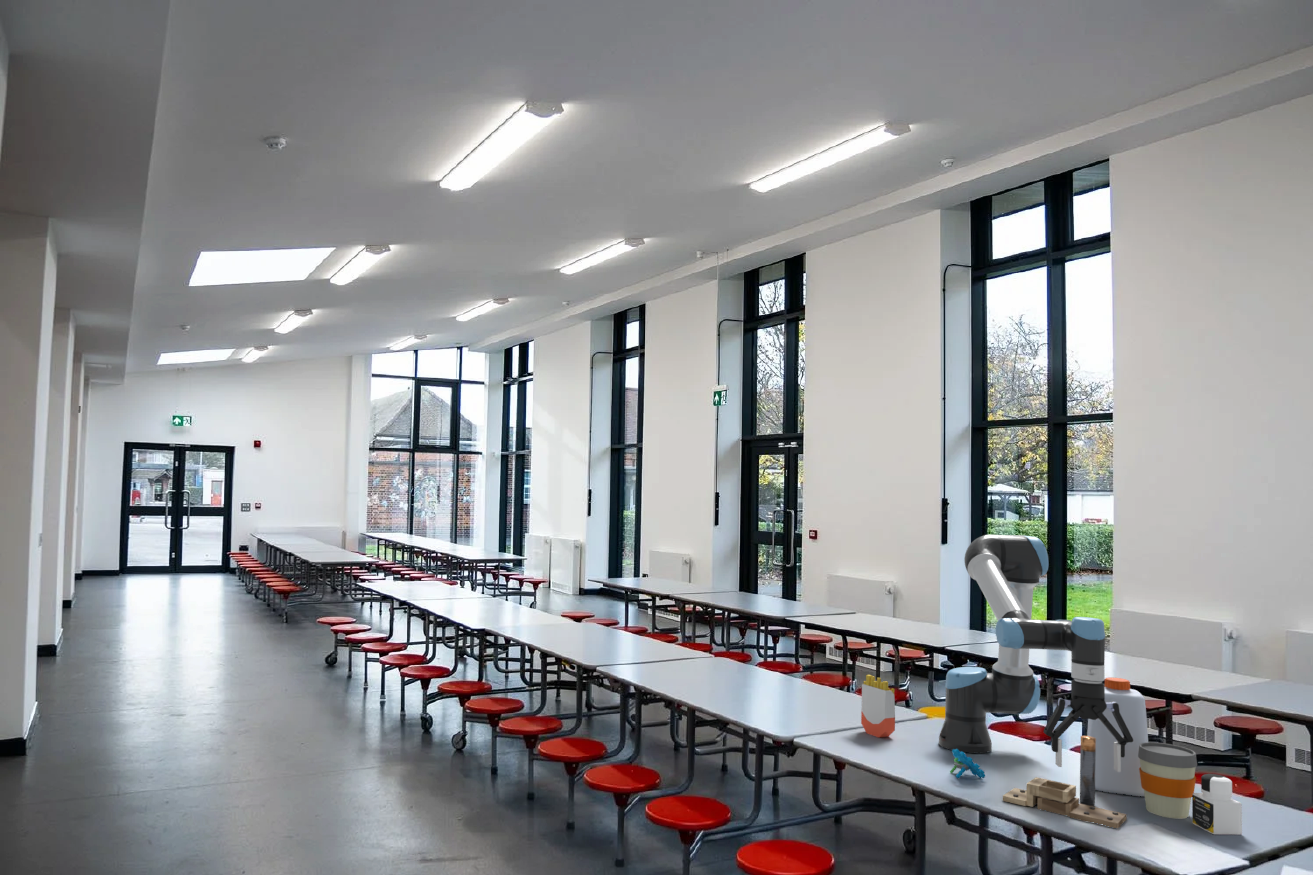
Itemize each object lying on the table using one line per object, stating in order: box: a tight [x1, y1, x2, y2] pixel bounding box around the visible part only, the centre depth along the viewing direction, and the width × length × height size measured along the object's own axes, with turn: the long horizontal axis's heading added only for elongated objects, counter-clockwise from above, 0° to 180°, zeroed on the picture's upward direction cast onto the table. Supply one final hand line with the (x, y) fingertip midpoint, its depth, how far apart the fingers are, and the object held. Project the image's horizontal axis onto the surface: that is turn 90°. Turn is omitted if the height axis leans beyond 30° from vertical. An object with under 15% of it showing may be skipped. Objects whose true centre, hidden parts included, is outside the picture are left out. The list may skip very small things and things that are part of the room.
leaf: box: [1002, 776, 1077, 808], centre depth 220 cm, size 9×15×5 cm, turn 50°
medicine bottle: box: [1191, 773, 1243, 836], centre depth 207 cm, size 7×7×12 cm
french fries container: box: [860, 674, 896, 739], centre depth 283 cm, size 5×11×18 cm, turn 28°
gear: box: [949, 749, 986, 779], centre depth 240 cm, size 11×6×10 cm
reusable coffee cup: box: [1138, 741, 1198, 820], centre depth 218 cm, size 13×13×15 cm
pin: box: [1079, 735, 1096, 807], centre depth 222 cm, size 3×3×16 cm
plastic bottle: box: [1086, 677, 1149, 797], centre depth 238 cm, size 15×15×28 cm
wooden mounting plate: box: [1037, 796, 1128, 830], centre depth 214 cm, size 9×18×3 cm, turn 50°
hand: (1087, 767), depth 222 cm, fingers open, 13 cm apart
